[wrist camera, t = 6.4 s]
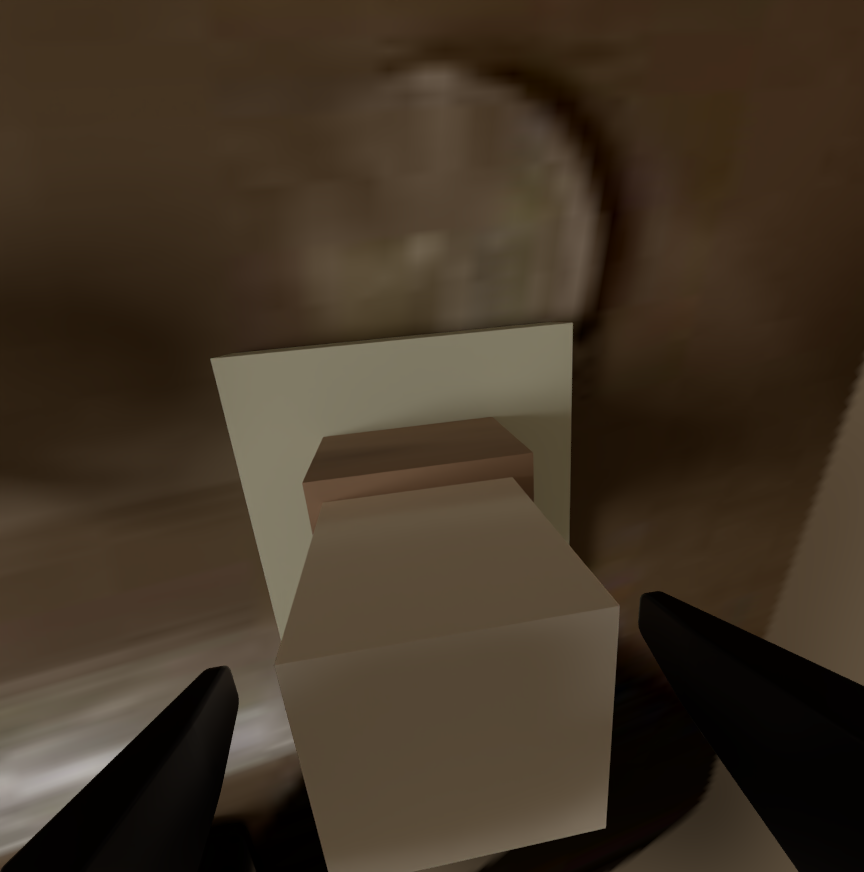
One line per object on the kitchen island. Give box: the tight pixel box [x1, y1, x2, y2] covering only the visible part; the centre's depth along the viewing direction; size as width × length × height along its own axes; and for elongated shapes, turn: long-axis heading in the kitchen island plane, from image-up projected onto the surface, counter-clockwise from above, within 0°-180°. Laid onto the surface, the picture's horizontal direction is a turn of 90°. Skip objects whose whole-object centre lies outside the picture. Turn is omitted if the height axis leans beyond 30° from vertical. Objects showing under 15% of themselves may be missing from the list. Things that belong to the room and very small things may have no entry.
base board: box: [210, 322, 573, 641], centre depth 16 cm, size 12×12×2 cm
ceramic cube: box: [274, 477, 620, 872], centre depth 9 cm, size 5×5×5 cm
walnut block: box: [302, 417, 534, 535], centre depth 13 cm, size 6×6×4 cm
